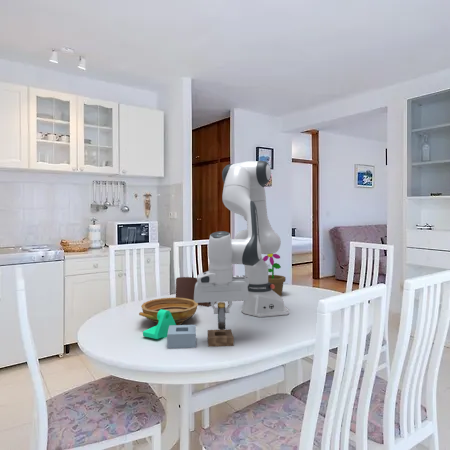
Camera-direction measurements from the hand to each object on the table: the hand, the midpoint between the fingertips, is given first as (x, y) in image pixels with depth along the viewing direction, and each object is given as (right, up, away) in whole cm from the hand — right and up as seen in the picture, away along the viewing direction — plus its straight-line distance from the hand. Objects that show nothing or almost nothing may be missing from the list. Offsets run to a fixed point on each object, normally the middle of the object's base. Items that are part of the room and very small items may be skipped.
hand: (221, 313), depth 136 cm
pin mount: (-1, -11, 0) cm, 11 cm away
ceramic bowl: (-23, -10, +23) cm, 34 cm away
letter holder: (-14, -8, +57) cm, 59 cm away
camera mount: (-24, -11, +7) cm, 27 cm away
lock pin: (0, -6, 0) cm, 6 cm away
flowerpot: (+29, -7, +74) cm, 79 cm away
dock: (-14, -11, -1) cm, 18 cm away
